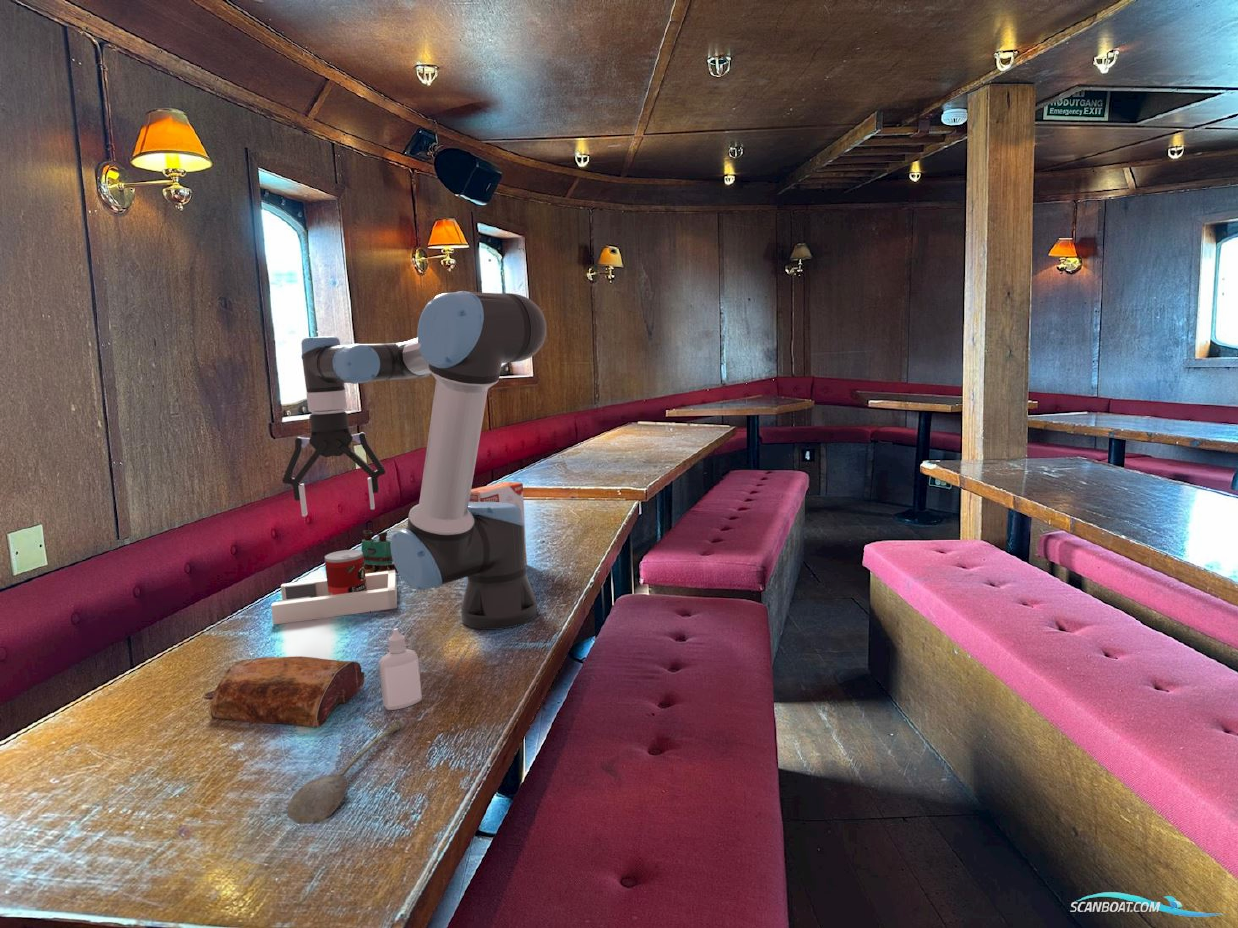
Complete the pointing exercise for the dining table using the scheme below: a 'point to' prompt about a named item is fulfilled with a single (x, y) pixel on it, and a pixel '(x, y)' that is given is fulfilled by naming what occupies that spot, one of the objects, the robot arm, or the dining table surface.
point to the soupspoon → (327, 789)
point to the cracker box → (501, 496)
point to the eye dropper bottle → (399, 674)
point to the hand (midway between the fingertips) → (339, 511)
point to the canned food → (345, 572)
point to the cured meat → (285, 690)
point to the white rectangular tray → (334, 599)
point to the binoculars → (377, 553)
